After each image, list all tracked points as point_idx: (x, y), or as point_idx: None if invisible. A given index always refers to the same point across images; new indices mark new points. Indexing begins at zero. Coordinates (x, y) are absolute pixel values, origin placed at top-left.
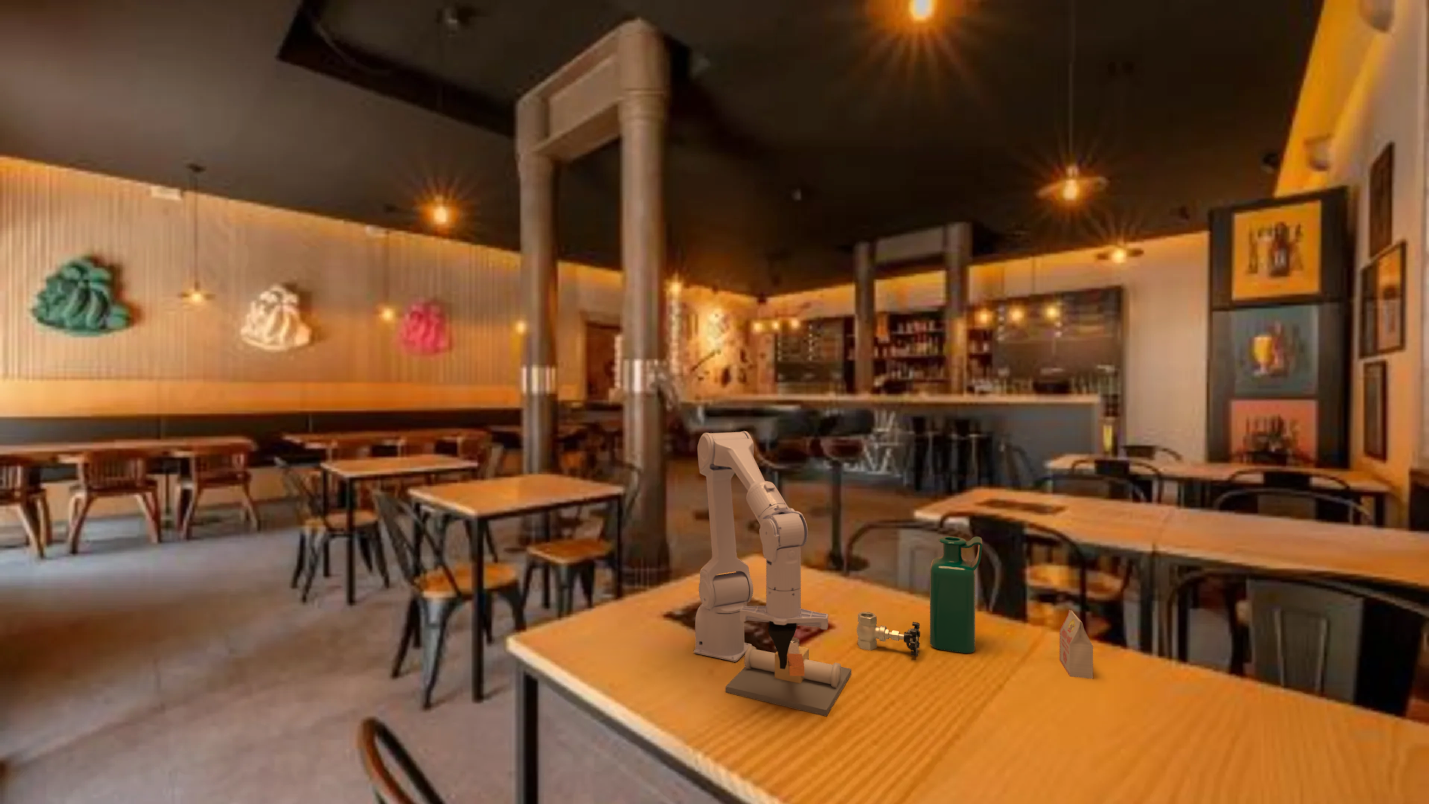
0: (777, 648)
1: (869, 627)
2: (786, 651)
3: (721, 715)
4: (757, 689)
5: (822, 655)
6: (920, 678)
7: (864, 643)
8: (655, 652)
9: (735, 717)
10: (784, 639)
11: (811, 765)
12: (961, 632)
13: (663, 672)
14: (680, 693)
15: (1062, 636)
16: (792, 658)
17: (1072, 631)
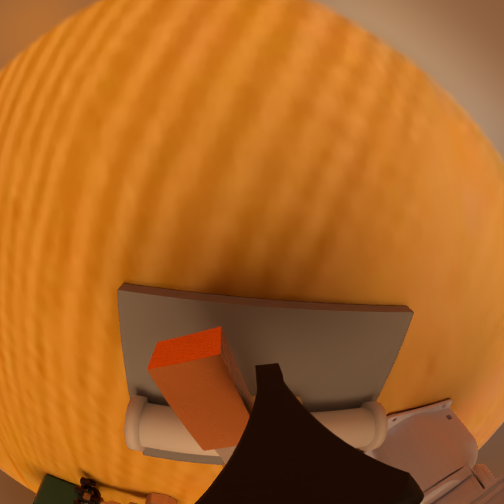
0: (311, 424)
1: None
2: (250, 423)
3: (399, 195)
4: (337, 332)
5: None
6: (51, 435)
7: (160, 501)
8: (493, 367)
9: (367, 195)
10: (269, 483)
11: (122, 52)
12: (45, 494)
13: (493, 320)
14: (476, 262)
15: None
16: (229, 417)
17: None
